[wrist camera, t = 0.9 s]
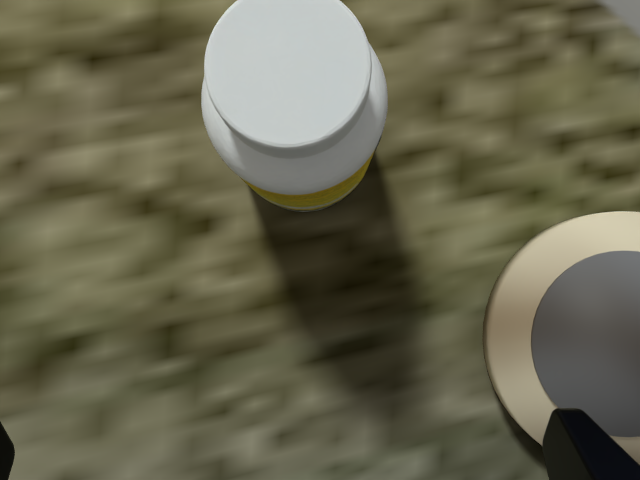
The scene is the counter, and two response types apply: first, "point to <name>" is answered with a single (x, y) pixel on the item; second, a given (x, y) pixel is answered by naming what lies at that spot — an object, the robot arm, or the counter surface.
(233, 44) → the supplement bottle
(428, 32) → the counter surface
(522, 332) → the round plate
